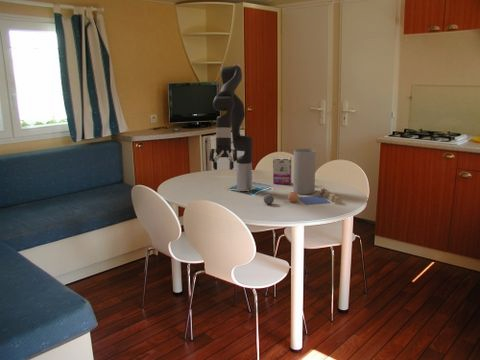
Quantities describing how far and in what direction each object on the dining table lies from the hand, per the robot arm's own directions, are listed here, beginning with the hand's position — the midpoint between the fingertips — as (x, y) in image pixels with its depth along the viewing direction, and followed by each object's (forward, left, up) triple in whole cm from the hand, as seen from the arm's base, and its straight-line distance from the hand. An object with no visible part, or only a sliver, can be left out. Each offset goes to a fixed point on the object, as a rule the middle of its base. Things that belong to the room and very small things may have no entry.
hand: (223, 169), depth 228 cm
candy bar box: (-51, +48, -23) cm, 74 cm away
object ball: (-10, +41, -20) cm, 46 cm away
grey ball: (-10, +27, -20) cm, 35 cm away
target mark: (-10, +53, -23) cm, 58 cm away
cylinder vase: (-28, +54, -23) cm, 65 cm away
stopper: (-10, +62, -23) cm, 67 cm away
